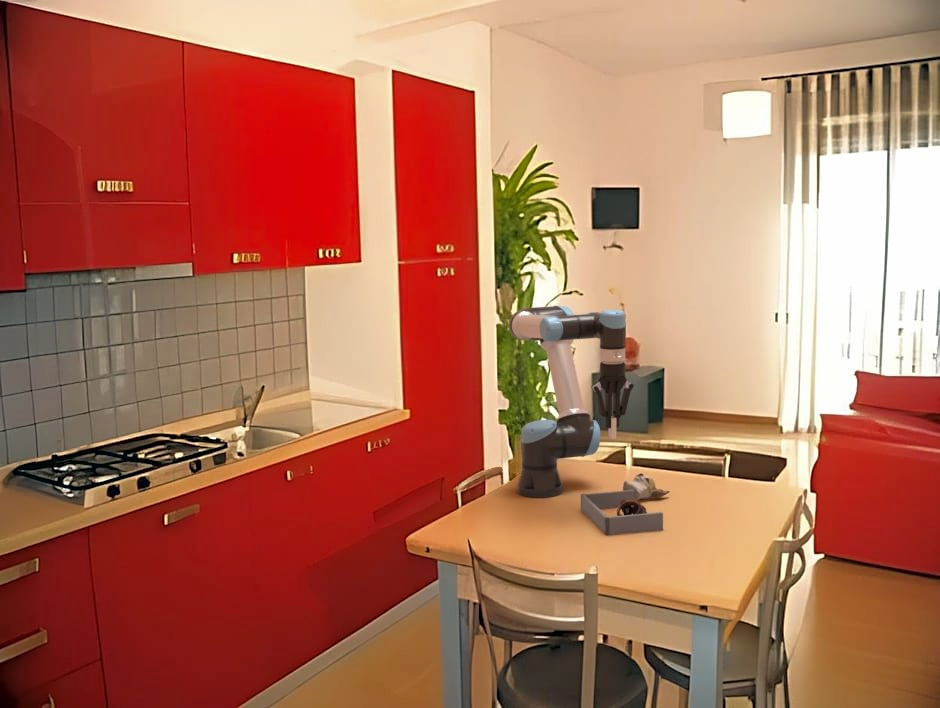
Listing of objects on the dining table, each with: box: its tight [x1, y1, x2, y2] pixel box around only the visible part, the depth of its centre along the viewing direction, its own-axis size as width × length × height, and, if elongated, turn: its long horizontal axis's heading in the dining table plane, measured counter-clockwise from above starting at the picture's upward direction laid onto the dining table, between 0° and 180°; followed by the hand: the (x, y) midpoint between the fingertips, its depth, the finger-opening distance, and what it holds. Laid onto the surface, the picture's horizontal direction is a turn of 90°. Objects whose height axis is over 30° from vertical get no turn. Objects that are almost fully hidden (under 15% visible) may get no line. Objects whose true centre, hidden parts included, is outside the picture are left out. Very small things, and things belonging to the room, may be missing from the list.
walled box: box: [580, 490, 664, 536], centre depth 260 cm, size 24×17×5 cm
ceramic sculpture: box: [622, 473, 670, 502], centre depth 279 cm, size 11×9×15 cm
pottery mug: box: [616, 500, 648, 516], centre depth 256 cm, size 12×10×8 cm
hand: (612, 438), depth 265 cm, fingers closed
